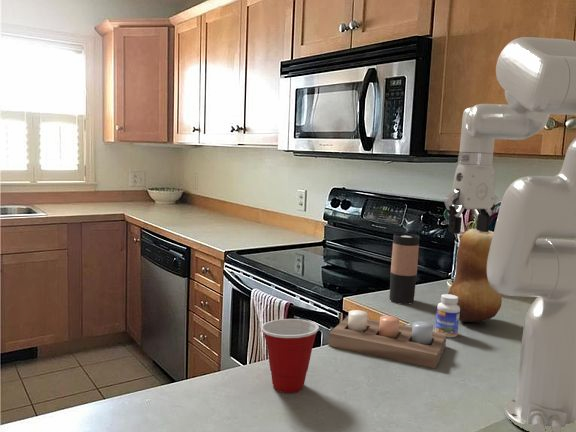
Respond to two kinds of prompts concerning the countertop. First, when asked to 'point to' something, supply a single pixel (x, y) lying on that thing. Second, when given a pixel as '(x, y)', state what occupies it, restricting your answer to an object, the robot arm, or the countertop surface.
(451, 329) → the pill bottle
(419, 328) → the slate button
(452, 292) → the butternut squash
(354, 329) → the cream button
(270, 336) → the plastic cup
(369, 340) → the walnut panel
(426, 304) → the countertop surface
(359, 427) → the countertop surface
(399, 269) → the travel mug
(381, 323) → the terracotta button
